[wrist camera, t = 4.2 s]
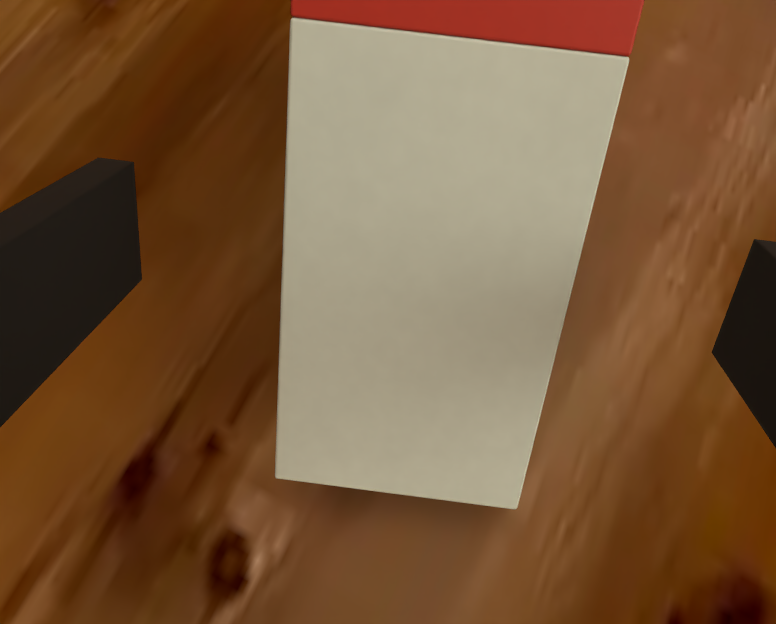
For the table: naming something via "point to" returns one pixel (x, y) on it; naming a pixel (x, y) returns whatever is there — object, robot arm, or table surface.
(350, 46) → the red-faced cream slab
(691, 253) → the table surface
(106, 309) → the robot arm
